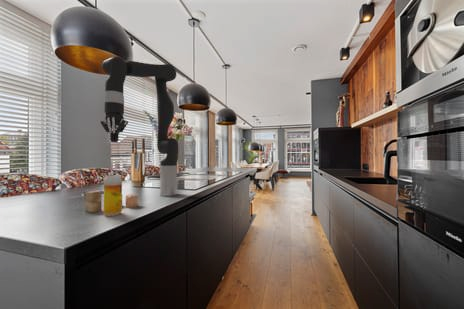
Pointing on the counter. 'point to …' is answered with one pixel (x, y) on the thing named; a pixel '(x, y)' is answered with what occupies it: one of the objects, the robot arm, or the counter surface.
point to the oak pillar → (93, 201)
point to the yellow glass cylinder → (112, 195)
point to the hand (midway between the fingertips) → (114, 142)
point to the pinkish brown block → (131, 201)
